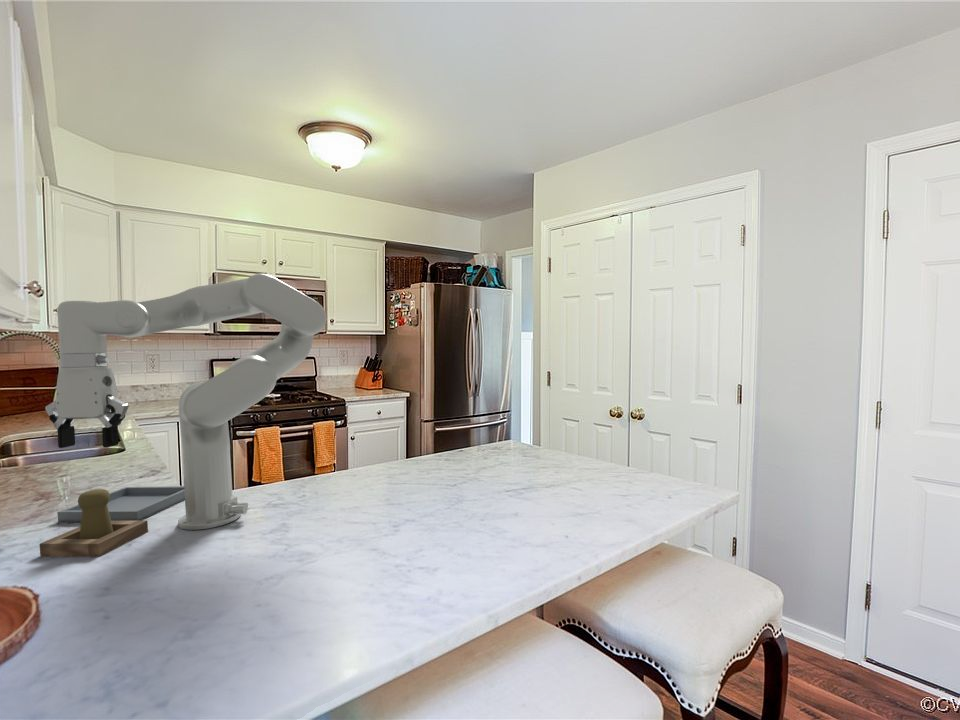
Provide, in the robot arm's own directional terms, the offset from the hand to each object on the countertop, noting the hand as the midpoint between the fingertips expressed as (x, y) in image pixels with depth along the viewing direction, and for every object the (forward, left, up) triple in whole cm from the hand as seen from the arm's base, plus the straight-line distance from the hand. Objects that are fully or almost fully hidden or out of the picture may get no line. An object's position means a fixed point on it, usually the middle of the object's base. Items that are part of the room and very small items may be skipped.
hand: (88, 446), depth 102 cm
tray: (+11, -22, -20) cm, 32 cm away
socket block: (0, 0, -20) cm, 20 cm away
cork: (0, 0, -20) cm, 20 cm away
